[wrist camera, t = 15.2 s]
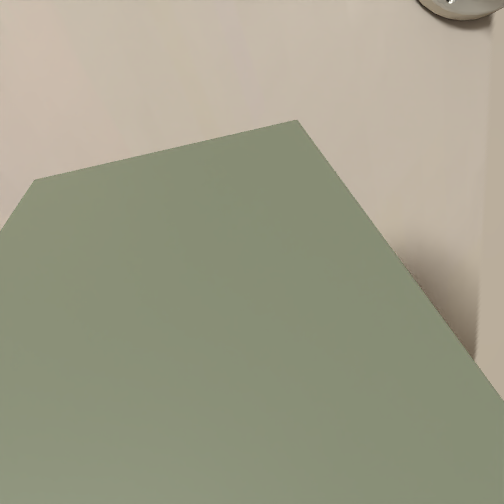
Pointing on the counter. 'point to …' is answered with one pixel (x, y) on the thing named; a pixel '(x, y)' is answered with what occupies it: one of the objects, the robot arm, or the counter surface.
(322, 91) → the counter surface
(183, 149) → the cream cube green side
